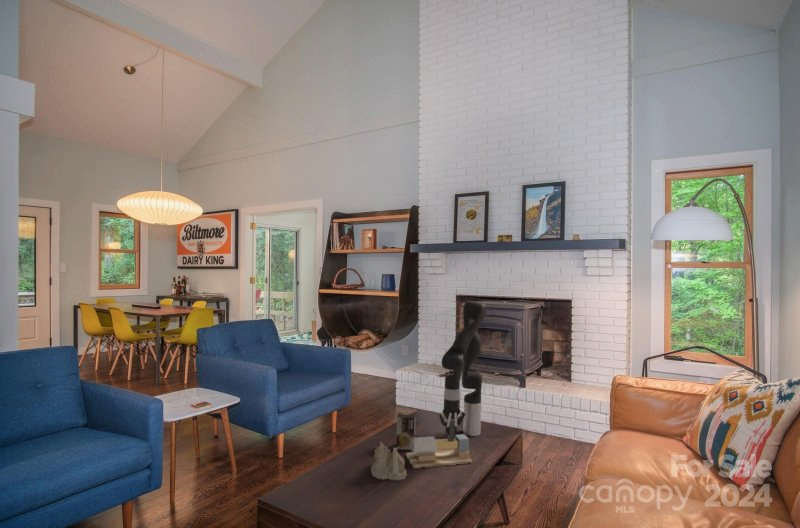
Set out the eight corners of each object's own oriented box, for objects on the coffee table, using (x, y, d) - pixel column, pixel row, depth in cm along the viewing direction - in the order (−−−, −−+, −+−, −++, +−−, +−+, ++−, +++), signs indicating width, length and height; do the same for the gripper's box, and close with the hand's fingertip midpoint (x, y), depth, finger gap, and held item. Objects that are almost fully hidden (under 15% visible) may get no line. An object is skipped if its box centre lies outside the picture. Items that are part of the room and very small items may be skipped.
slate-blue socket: (453, 451, 218) (454, 433, 218) (463, 451, 219) (463, 433, 219) (459, 458, 210) (460, 440, 210) (469, 458, 211) (469, 439, 211)
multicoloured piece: (428, 447, 212) (428, 421, 212) (460, 444, 216) (461, 419, 216) (430, 450, 209) (431, 423, 209) (463, 447, 213) (463, 421, 213)
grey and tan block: (409, 454, 214) (409, 436, 214) (431, 452, 216) (431, 434, 216) (415, 463, 204) (415, 444, 204) (437, 461, 207) (438, 442, 207)
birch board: (406, 455, 216) (406, 452, 216) (461, 450, 222) (461, 448, 222) (413, 468, 202) (413, 465, 202) (472, 463, 208) (472, 460, 208)
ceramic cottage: (404, 482, 189) (404, 445, 190) (366, 479, 192) (366, 442, 193) (410, 467, 204) (410, 433, 205) (375, 465, 207) (375, 432, 208)
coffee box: (415, 445, 228) (415, 413, 227) (414, 450, 221) (415, 417, 221) (397, 444, 228) (397, 412, 228) (395, 449, 222) (396, 416, 222)
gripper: (462, 394, 218) (462, 430, 218) (435, 395, 215) (434, 431, 215) (468, 399, 211) (467, 436, 211) (440, 400, 208) (439, 438, 208)
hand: (451, 433), depth 213 cm, fingers closed on multicoloured piece, 2 cm apart
